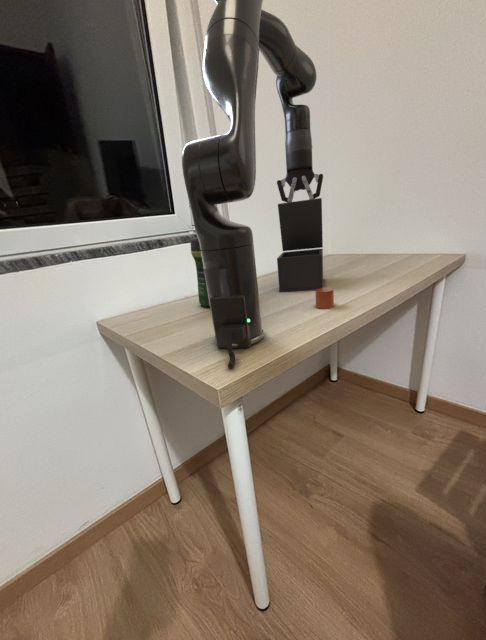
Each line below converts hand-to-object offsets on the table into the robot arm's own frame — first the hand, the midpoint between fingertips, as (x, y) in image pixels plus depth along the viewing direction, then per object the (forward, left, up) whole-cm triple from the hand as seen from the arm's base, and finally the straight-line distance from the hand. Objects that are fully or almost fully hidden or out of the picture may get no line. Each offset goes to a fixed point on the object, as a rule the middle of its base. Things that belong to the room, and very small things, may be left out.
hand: (301, 214), depth 95 cm
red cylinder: (-32, -7, -20) cm, 38 cm away
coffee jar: (-24, +23, -21) cm, 39 cm away
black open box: (-8, 0, -20) cm, 22 cm away
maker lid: (-3, 0, -3) cm, 5 cm away
